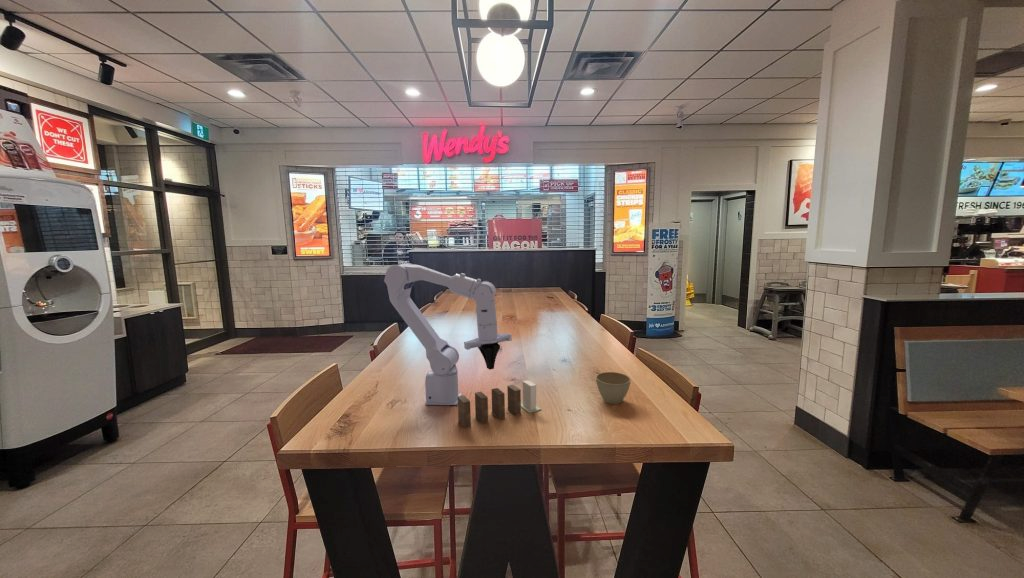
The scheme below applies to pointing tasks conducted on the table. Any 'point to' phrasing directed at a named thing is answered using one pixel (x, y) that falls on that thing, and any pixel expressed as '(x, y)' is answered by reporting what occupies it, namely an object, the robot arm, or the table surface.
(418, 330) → the robot arm
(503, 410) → the domino
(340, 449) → the table surface
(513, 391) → the domino
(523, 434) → the table surface
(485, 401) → the domino
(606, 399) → the flower pot
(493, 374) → the table surface
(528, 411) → the pad
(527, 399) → the domino
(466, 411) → the domino
